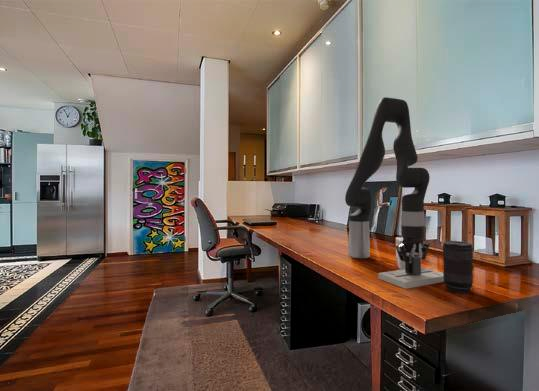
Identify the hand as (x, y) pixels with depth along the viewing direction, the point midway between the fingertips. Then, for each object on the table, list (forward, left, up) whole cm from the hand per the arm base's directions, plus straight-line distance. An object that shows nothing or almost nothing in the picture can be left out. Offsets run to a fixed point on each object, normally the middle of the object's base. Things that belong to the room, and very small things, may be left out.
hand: (412, 272), depth 103 cm
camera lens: (+13, +4, -3) cm, 14 cm away
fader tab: (0, 0, 0) cm, 0 cm away
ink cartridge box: (-14, +11, -3) cm, 18 cm away
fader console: (0, +1, -3) cm, 3 cm away
